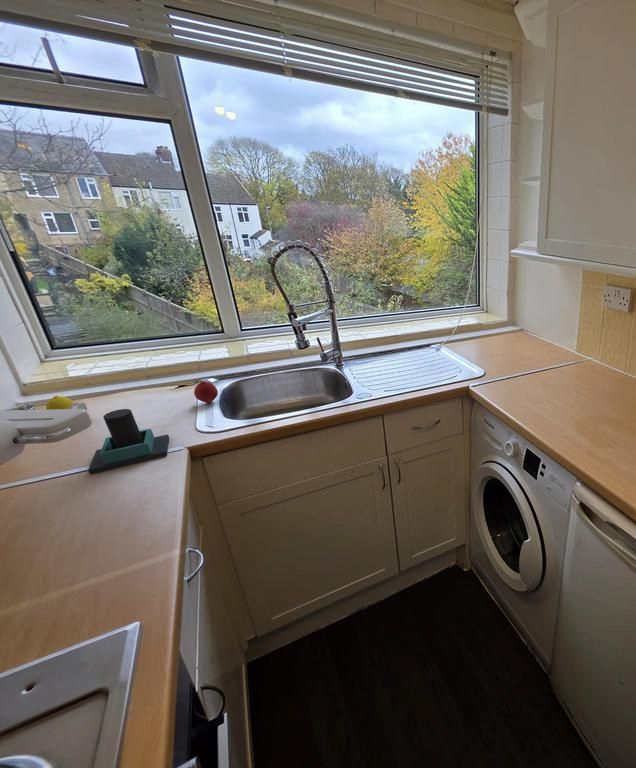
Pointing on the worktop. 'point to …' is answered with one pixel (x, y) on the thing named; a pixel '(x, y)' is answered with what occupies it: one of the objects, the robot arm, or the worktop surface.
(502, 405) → the worktop surface
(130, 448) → the base pad
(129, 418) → the pad post
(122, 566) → the worktop surface
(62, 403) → the lemon
